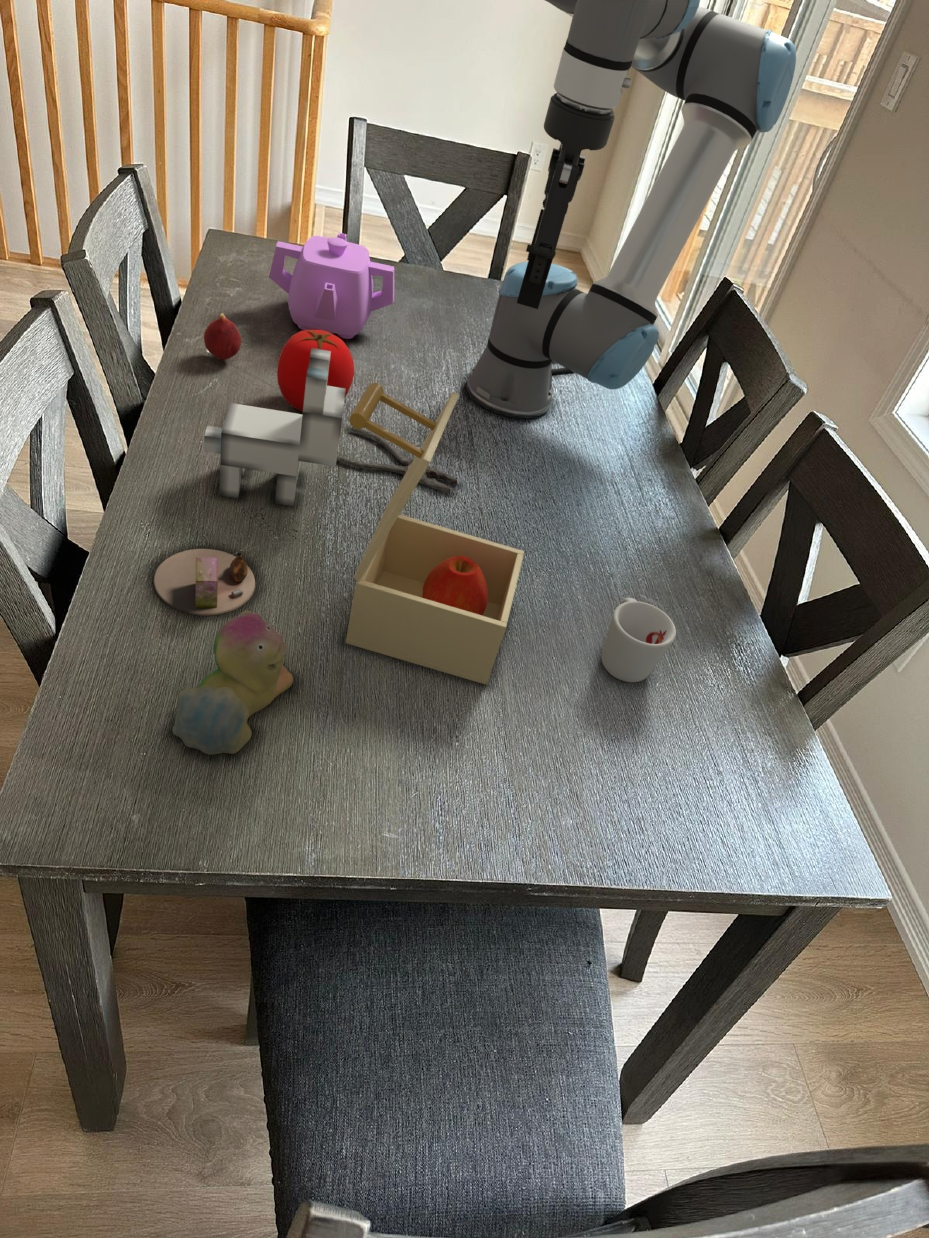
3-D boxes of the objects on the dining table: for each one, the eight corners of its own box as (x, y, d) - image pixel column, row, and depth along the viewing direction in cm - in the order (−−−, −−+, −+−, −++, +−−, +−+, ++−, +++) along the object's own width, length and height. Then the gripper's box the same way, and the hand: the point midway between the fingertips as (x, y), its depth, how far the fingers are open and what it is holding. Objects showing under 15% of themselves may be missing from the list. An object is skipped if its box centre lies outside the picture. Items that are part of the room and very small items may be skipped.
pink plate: (257, 615, 106) (259, 588, 103) (151, 615, 103) (150, 586, 100) (253, 550, 115) (254, 523, 112) (154, 548, 111) (153, 519, 108)
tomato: (300, 433, 136) (308, 358, 128) (259, 395, 141) (264, 320, 133) (365, 416, 143) (376, 345, 135) (324, 381, 149) (332, 310, 140)
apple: (405, 606, 112) (420, 540, 105) (464, 598, 115) (482, 534, 108) (428, 652, 107) (446, 587, 100) (489, 643, 110) (510, 579, 103)
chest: (505, 607, 117) (524, 551, 110) (486, 685, 106) (506, 627, 100) (377, 569, 117) (389, 510, 110) (345, 643, 106) (355, 582, 100)
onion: (247, 360, 148) (249, 315, 143) (226, 373, 144) (227, 327, 138) (218, 347, 149) (219, 302, 144) (196, 359, 145) (196, 313, 140)
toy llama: (209, 461, 126) (212, 330, 113) (333, 480, 129) (350, 354, 116) (200, 492, 121) (202, 359, 107) (329, 511, 124) (347, 383, 110)
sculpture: (240, 772, 90) (244, 708, 83) (163, 743, 91) (161, 678, 84) (298, 675, 101) (306, 613, 94) (229, 651, 101) (232, 586, 95)
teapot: (321, 355, 154) (331, 271, 144) (255, 309, 161) (260, 225, 151) (399, 334, 167) (413, 255, 156) (335, 292, 174) (344, 213, 164)
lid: (459, 394, 98) (386, 352, 97) (430, 462, 88) (347, 416, 86) (392, 509, 110) (326, 473, 109) (359, 581, 99) (285, 542, 98)
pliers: (342, 422, 139) (465, 457, 139) (341, 426, 140) (464, 461, 140) (324, 453, 132) (453, 490, 132) (323, 458, 132) (452, 495, 132)
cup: (584, 626, 118) (603, 582, 112) (640, 632, 119) (662, 588, 114) (600, 687, 110) (621, 643, 105) (660, 692, 112) (684, 649, 106)
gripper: (614, 144, 90) (553, 334, 105) (618, 84, 108) (566, 253, 123) (543, 122, 90) (492, 316, 104) (559, 66, 108) (514, 238, 122)
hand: (532, 282), depth 114 cm, fingers open, 13 cm apart
